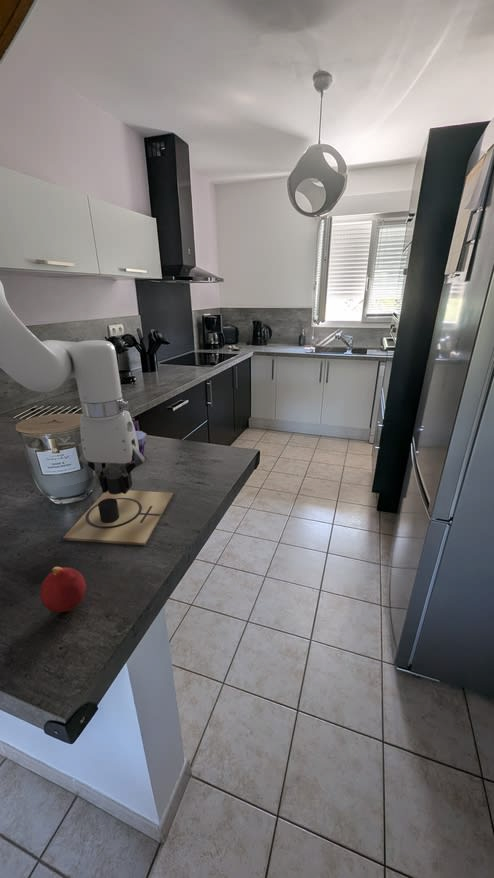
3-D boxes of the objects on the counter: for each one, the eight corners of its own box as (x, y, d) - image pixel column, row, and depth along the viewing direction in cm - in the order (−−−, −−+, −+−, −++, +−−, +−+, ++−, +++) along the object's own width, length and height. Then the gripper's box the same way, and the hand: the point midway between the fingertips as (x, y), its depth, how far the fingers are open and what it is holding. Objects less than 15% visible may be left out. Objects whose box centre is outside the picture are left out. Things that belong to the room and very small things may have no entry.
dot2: (105, 494, 74) (102, 478, 73) (113, 485, 77) (110, 470, 76) (121, 495, 74) (119, 479, 72) (129, 486, 77) (126, 471, 76)
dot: (97, 522, 71) (94, 507, 70) (105, 512, 75) (103, 497, 73) (114, 523, 71) (112, 508, 70) (122, 513, 74) (120, 498, 73)
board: (63, 539, 67) (62, 537, 67) (107, 491, 84) (107, 488, 84) (144, 545, 66) (144, 542, 66) (173, 494, 82) (173, 492, 82)
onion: (73, 588, 56) (63, 547, 53) (97, 603, 54) (88, 561, 51) (38, 615, 52) (24, 572, 49) (62, 632, 49) (50, 588, 46)
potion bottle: (110, 461, 99) (104, 420, 94) (132, 450, 106) (127, 411, 101) (134, 467, 95) (128, 425, 91) (155, 455, 102) (151, 416, 98)
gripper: (151, 402, 71) (161, 482, 78) (73, 400, 73) (89, 479, 80) (137, 414, 64) (148, 501, 71) (50, 412, 66) (70, 497, 73)
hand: (117, 489), depth 75 cm, fingers closed on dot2, 3 cm apart
